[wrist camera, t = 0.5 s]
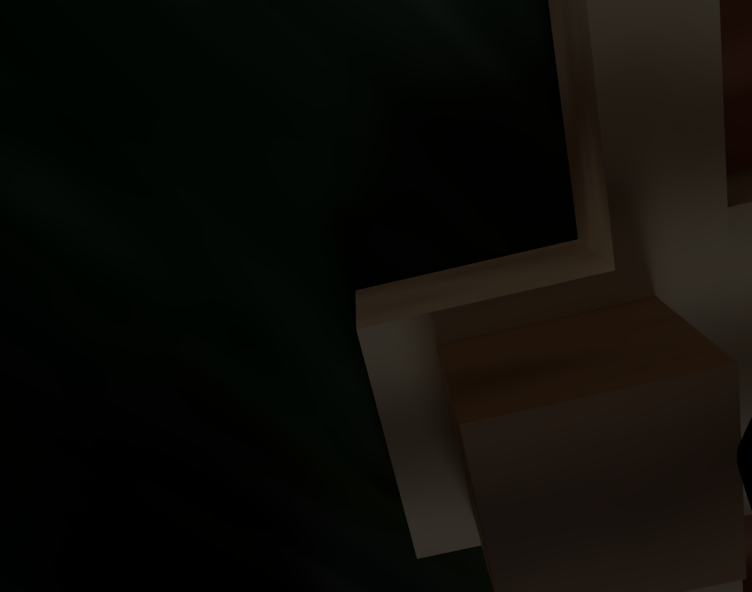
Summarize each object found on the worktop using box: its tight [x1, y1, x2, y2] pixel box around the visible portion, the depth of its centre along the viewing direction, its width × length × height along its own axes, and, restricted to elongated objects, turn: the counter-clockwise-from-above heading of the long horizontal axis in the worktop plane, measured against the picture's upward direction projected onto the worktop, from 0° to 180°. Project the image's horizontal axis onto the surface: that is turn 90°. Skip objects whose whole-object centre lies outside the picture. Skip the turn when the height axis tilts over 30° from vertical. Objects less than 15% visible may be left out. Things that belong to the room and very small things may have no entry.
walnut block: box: [437, 296, 746, 592], centre depth 17 cm, size 6×6×4 cm
